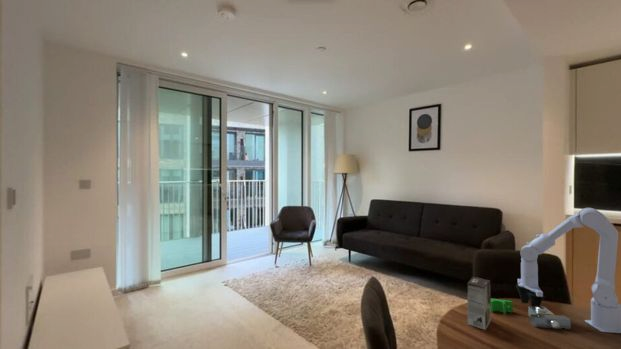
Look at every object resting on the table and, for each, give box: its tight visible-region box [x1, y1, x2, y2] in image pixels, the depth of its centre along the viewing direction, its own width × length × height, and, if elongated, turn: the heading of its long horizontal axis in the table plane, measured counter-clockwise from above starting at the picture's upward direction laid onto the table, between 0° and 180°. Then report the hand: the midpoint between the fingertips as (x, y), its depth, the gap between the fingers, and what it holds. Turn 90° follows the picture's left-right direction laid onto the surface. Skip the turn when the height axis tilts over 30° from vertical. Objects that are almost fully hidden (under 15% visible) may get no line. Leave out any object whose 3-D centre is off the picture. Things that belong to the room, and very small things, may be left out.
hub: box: [527, 305, 556, 317], centre depth 115 cm, size 6×6×5 cm
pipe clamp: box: [491, 297, 514, 315], centre depth 122 cm, size 11×4×5 cm, turn 67°
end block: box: [529, 314, 572, 330], centre depth 109 cm, size 12×5×4 cm, turn 81°
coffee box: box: [466, 276, 492, 331], centre depth 113 cm, size 9×6×16 cm
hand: (529, 306), depth 123 cm, fingers open, 7 cm apart
